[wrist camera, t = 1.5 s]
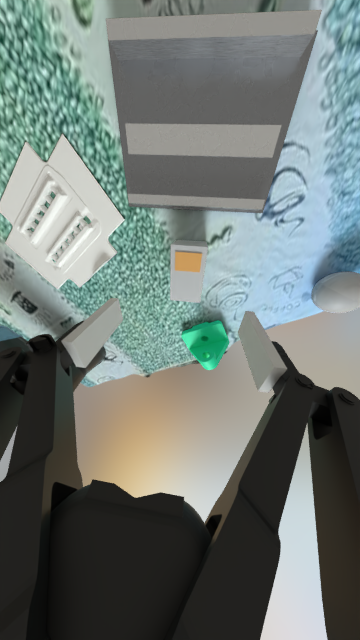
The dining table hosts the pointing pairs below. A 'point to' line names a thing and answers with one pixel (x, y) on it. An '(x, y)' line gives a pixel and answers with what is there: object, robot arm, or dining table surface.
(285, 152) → the dining table surface
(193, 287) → the module
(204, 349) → the camera mount
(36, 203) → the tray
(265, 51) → the rail
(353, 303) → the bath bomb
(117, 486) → the robot arm
